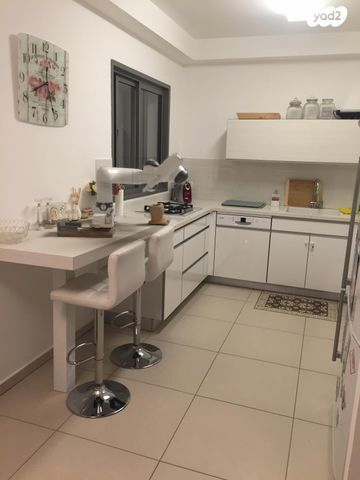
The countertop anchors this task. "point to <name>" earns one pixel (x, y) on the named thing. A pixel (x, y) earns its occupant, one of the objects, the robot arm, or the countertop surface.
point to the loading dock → (82, 230)
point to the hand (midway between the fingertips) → (143, 190)
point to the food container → (107, 219)
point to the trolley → (102, 220)
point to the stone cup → (157, 214)
